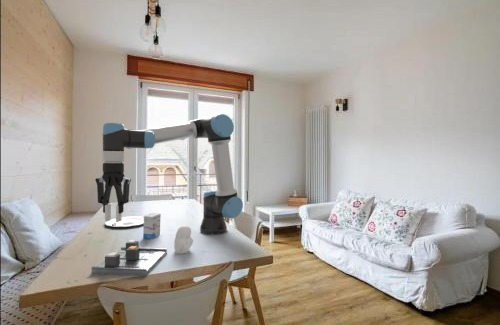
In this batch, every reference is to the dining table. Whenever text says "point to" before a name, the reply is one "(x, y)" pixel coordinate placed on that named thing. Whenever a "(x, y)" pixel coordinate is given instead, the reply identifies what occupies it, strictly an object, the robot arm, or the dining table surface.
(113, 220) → the plate
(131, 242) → the block
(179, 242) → the figurine
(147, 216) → the ink box
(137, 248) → the breaker
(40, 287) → the dining table surface
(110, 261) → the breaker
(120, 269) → the panel
